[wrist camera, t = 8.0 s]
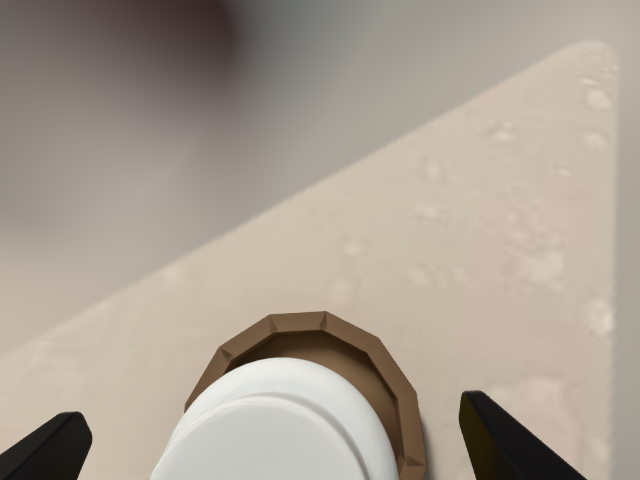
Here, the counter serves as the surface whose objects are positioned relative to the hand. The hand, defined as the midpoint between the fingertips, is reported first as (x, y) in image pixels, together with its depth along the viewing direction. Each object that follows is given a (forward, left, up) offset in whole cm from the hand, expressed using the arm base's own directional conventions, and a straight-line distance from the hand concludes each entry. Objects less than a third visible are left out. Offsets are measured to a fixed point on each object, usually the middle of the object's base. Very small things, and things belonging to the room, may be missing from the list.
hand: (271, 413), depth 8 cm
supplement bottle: (-2, 0, -8) cm, 8 cm away
